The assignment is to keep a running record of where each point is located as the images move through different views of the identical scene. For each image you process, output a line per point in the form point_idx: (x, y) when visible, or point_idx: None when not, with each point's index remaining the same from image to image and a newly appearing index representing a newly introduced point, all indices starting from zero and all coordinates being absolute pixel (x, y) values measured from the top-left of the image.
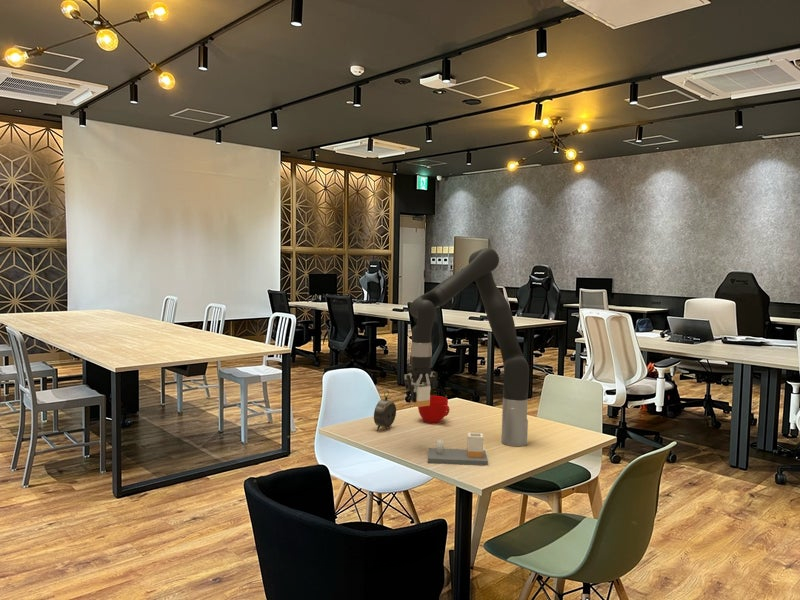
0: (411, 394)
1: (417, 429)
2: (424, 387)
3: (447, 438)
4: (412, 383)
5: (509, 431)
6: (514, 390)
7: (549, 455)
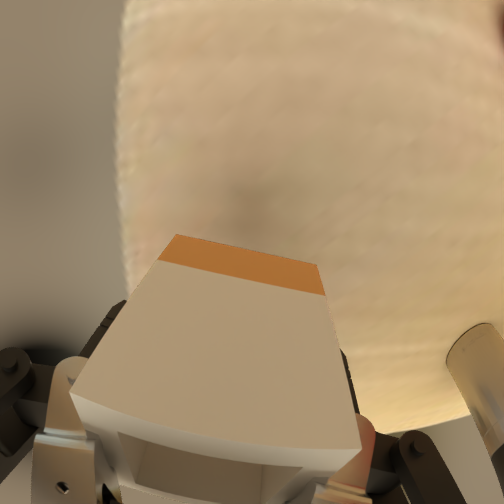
0: (91, 353)
1: (445, 39)
2: (196, 499)
3: (433, 198)
4: (50, 461)
5: (461, 383)
6: (500, 479)
7: (415, 419)
